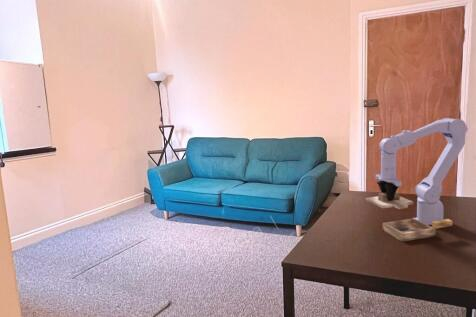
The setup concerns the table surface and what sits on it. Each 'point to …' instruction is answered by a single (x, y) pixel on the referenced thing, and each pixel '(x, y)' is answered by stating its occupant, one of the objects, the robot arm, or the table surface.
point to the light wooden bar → (442, 223)
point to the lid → (385, 203)
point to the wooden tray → (408, 229)
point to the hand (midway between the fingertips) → (387, 198)
